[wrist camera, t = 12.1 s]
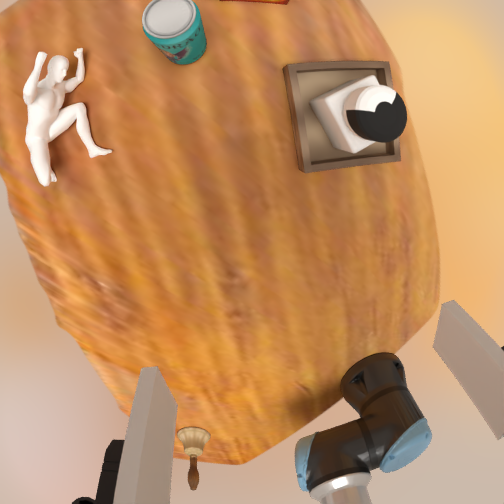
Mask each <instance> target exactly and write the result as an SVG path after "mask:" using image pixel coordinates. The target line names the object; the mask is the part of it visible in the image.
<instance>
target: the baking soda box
mask: <svg viewBox="0 0 504 504" xmlns="http://www.w3.org/2000/svg"><path fill="white" fill-rule="evenodd" d="M220 1H246V2H263V3H275V4H285V5H287V3H288V2H289V0H220Z"/></svg>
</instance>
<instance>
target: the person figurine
mask: <svg viewBox="0 0 504 504" xmlns="http://www.w3.org/2000/svg"><path fill="white" fill-rule="evenodd" d="M46 56H47V54H46V53H44V52H38V55H37V57H36V61H35V63H36V64H35V67H34V70H33V71H32V73H31V75H30V77H29V78H28V80H27V82H26V84H25V87H24V89H23V93H24V96H23V98H24V101H25V103H26V104H27V106H28V124H27V128H26V139H25V141H26V144H27V146H28V148H29V151H30V153H31V163H32V166H33V168H34V170H35V173H36V175H37V177H38V180H39V182H40V183H41V184H42V185H44V186H49V184H50V182H51V181H53V182H54V181H55V182H56V181H57V178H56V176H55V174H54V172H53V171H52V169H51V166H50V154H49V149H48V143H49V142H51V141H52V140H54V139H55V138H56V137H57V136H58V135H60V134H61V133H63V132H64V131H65V130H67V129H68V128H69V127H70V126H71V125H72V123H73V122H74V121H75V120H76V118H77V123H76V128H77V132H78V134H79V136H80V137H81V139H82V141H83V142H84V144H85V145H86V147H87V149H88V151H89V156H90V157H91V158H93V157H96V156H98V155H106V154H108V153H111V152H112V150H111V149H103V148H100V147H98V146H96V145H95V143H94V141H93V139H92V137H91V133H90V127H89V121H88V118H87V115H86V107H85V105H84V103H81V102H80V103H76V104H72V105H70V106H67V107H65V108H63V109H61V110H59V109H60V108H61V107H62V104H63V102H64V98H65V93H69V92H71V91H73V90H74V89H75V88H76V87H77V85H78V84H79V83H81V82H82V81H84V75H85V67H84V61H83V48H79V49H77V51H75V52H74V56H76V57H77V58H78V67H77V71H76V77H73V78H71V79H69V80H66V81H63V79H64V77H65V76H66V72H67V70H68V68H69V61H68V59H67V58H66V57H64V56H61V55H57V56H54V57H52V59H51V60H50V61H49V64H48V74H47V76H46V78H45V79H43V80H41V81H39V82H38V80H39V75H40V72H41V68H42V65H43V63H44V61H45V59H46ZM56 82H57V83H56Z"/></svg>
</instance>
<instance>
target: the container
mask: <svg viewBox="0 0 504 504" xmlns="http://www.w3.org/2000/svg"><path fill="white" fill-rule="evenodd" d="M309 104H310V106H311V107H312V109H313V111H314V113H315V114H316V116H317V118H318V120H319V122H320V123H321V125H322V127H323V129H324V131H325V132H326V134H327V136H328V138H329V140H330V142H331V144H332V145H333V147H334V148H337V149H341V150H344V151H347V152H351V153H357V152H358V151H360V150H362V149H364V148H366V147H367V146H369V145H371V144H373V143H374V142H380V143H387V142H391V141H393V140H395V139H397V138H398V137H399V136H400V135H401V134H402V132H403V131H404V128H405V126H406V122H407V111H406V107H405V104H404V102H403V100H402V98H401V97H400V96H399V94H398V93H397V92H396V91H394V90H393V89H391V88H390V87H387V86H384V85H379V83H378V81H377V79H376V77H375V76H374V75H371V76H366V77H362V78H358V79H354V80H351V81H348V82H346V83H344V84H342V85H340V86H338V87H336V88H334V89H332V90H330V91H328V92H326V93H324V94H322V95H320V96H318V97H316V98H314V99H312V100H311V101H310V102H309Z"/></svg>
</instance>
